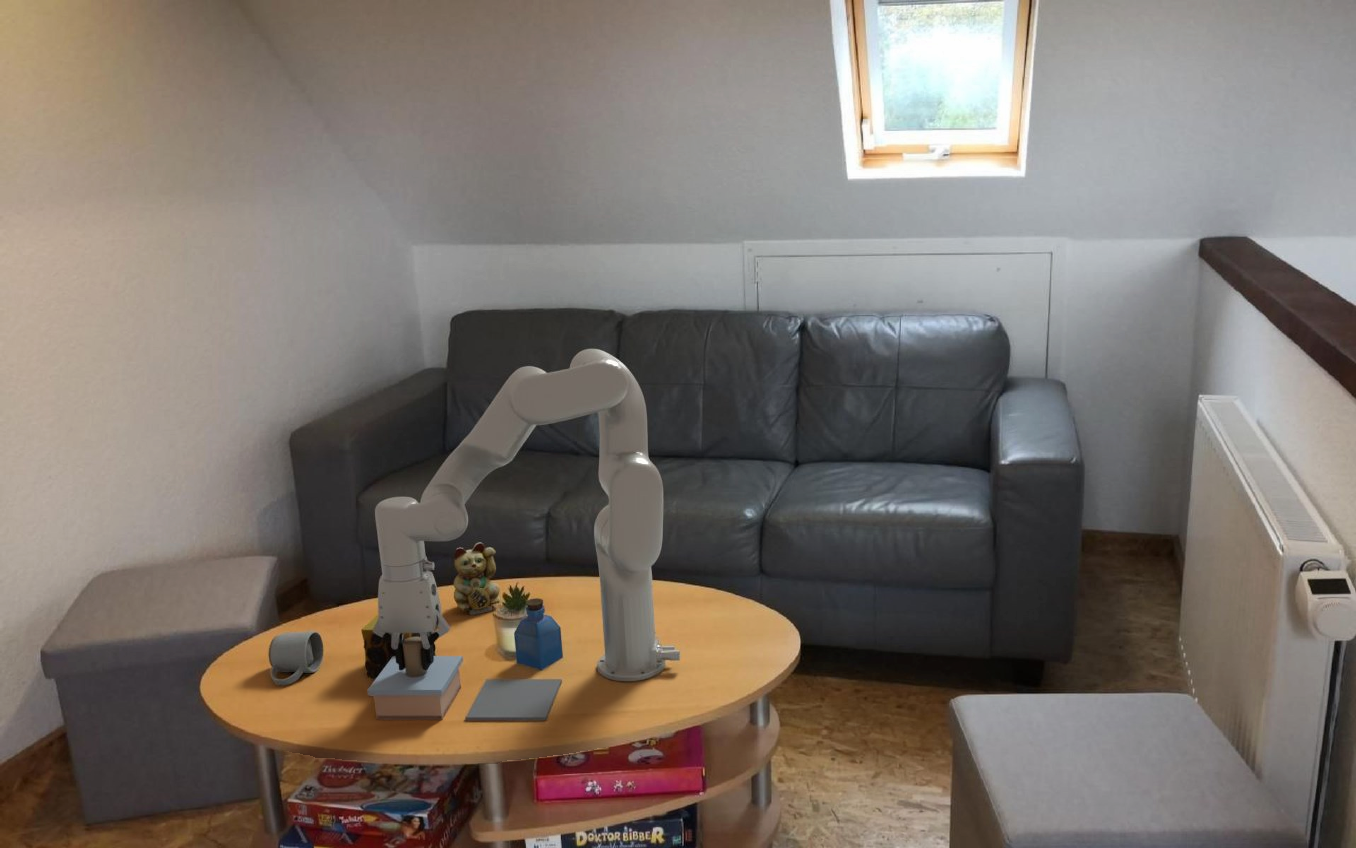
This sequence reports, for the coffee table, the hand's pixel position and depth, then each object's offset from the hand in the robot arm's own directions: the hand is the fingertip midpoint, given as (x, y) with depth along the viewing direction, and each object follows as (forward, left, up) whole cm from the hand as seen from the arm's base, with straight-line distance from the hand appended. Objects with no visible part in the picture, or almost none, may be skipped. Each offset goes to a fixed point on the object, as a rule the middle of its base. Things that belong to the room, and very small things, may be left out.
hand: (415, 666), depth 197 cm
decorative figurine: (+1, -42, -7) cm, 43 cm away
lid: (0, 0, -2) cm, 2 cm away
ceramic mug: (+28, -12, -8) cm, 31 cm away
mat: (-17, -1, -7) cm, 19 cm away
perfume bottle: (-18, -17, -8) cm, 26 cm away
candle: (+8, -14, -8) cm, 18 cm away
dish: (0, 0, -7) cm, 7 cm away
